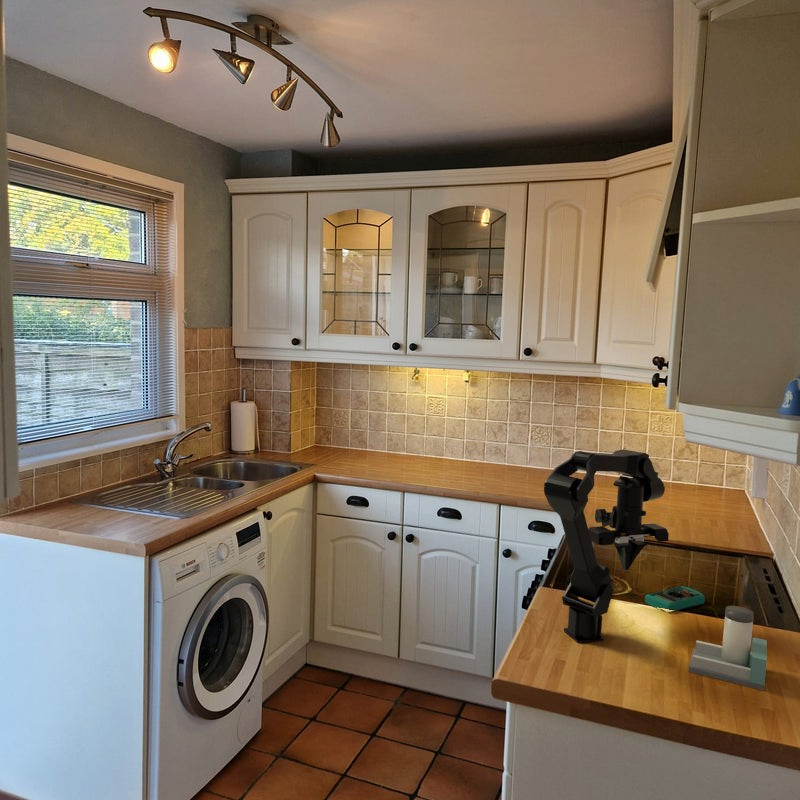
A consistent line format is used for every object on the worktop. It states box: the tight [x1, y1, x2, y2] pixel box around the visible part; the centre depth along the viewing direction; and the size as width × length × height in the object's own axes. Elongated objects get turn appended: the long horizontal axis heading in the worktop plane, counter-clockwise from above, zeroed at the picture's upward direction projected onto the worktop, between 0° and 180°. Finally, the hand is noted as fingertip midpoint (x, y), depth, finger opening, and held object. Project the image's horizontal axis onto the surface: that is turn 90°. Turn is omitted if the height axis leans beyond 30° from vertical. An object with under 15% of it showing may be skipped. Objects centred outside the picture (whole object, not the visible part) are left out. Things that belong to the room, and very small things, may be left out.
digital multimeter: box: [644, 585, 706, 611], centre depth 170 cm, size 7×15×3 cm, turn 121°
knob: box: [721, 605, 755, 667], centre depth 134 cm, size 5×5×11 cm
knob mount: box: [688, 636, 768, 691], centre depth 135 cm, size 13×10×6 cm
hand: (625, 569), depth 157 cm, fingers closed
